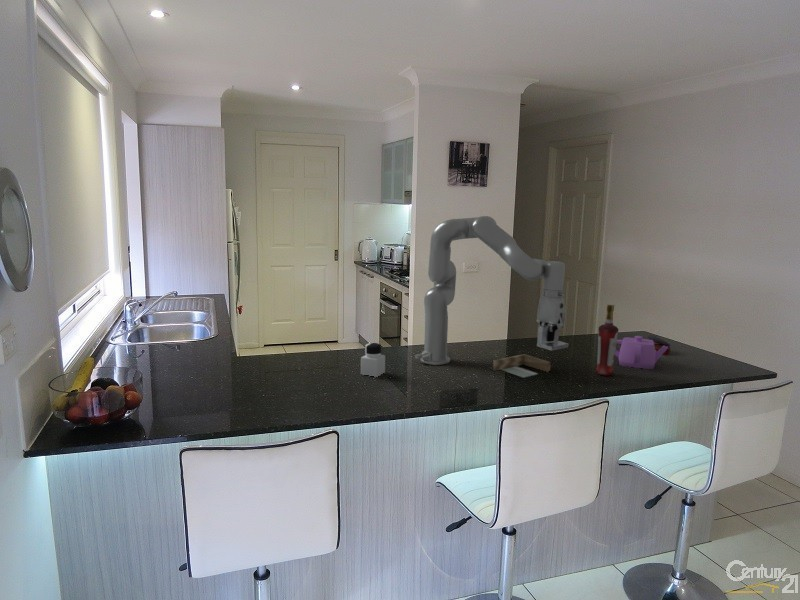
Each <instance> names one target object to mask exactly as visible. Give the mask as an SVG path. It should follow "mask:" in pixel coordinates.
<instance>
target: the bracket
mask: <svg viewBox="0 0 800 600" xmlns="http://www.w3.org/2000/svg"><path fill="white" fill-rule="evenodd" d="M557 325H558V323H557ZM553 327H554V325H553ZM548 331H550V323H549V325H542V326H541V325H538V329H537V342H536V347H539V348H542V349H545V350H549V351H558V350H562V349H566V348H567V349H568V348H569V343H568V342H564V341H561V340H559V337H560V335H559V334H560V328H558V329H557V330H556V331H555V336H554V341H550V342H548V341H547V340H548Z"/></svg>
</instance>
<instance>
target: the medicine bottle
mask: <svg viewBox="0 0 800 600" xmlns="http://www.w3.org/2000/svg"><path fill="white" fill-rule="evenodd" d="M364 353H365V355H363V356H360V375H361V374H362V375H361V376H364V375H369V376H368V377H370V376H374V377H373V378H376V377H377V378H379V377H380V376H382V375H383V373H384V374H385V373H386V355H385V354H382V345H381V344H380V343H378V342H369V343H366V344H365V349H364ZM381 374H382V375H381ZM378 376H379V377H378Z"/></svg>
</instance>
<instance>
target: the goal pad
mask: <svg viewBox="0 0 800 600" xmlns="http://www.w3.org/2000/svg"><path fill="white" fill-rule="evenodd" d="M501 371H503V372H505V373H509V374H512V375H514V376H518V377H521V378H529V377H532V376H533V377H534V376H537V375H539V373H538V372H535V371H531V370H529V369H526V368H523V367H520V366H515V367H510V368H506V369H501Z"/></svg>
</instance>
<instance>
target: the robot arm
mask: <svg viewBox="0 0 800 600" xmlns="http://www.w3.org/2000/svg"><path fill="white" fill-rule="evenodd" d="M465 239H466V240H467V239H478V240H480V241H481V242H482V243H484V244H485V245H486V246H487V247H489V248H490V249H491V250H492V251H493V252H495V253H496V254H498V255H499V257H500V259H502V260H503V261H504V262H505V263H506V264H507V265H508V266H509V267H510V268H511V269H512V270H514V271H515V272H516V273H517V274H519V275H520V276H521V277H523V279H526V280H528V281H532V282H533V281H536V280H538V279H542V278H543V280H542V281H543V282H542V293H541V295H540V298H539V301H538V306H537V313H536V320H535V321H536V323H538V324H539V326H542V325H549V324H550V331H548V340H547V341H548V342H550V341H554V336H555V331H556V330H557V329H558V328H559V329H561V328H564V322H565V317H566V315H565V314H566V311H565V310H566V306H565V303H566V302H565V299H564V297H565V296H566V295H565V293H564V282H565V273H566V264H565V262H562V261H559V260H558V261H557V260H549V261H548V260H544V259H539V258H532V257H531V256H529V255H528V254H527V253H526V252H524V250H522V249H521V247H520V246H519V245H518V244H517V241H516V240H515V239H514V237H513V236H512V235H510V234H509V233H508V232H506V231H505V230H504V229H503V228H502V227H501V226H499V225H497V221H496V220H495V219H494V218H493V217H492V216H488V215H484V216H483V215H482V216H477V217H476V216H475V217H465V218H464V217H463V218H450V219H447V220H445V221H442V222H441V223H439V224H438V225H437V226H435V228H434V229H433V230H432V233H431V236H430V245H429V261H428V274H427V276H428V278H429V280H430V282H432V283H433V287H431V288H429V289H428V290H427V292H426V293H425V295H424V299H423V300H424V301H423V305H424V342H423V343H424V345H423V347H424V349H423V350H422V351H421V353H417V354H415V355H414V359H415V360H420V362H421V363H423V364H426V365H430V366H431V365H432V366H433V365H434V366H440V365H441V366H442V365H448V364H449V363H451V358H450V357H449V356H448V355H447V353H448V352H447V351H448V333H449V329H448V328H449V326H448V325H449V324H448V323H449V313H448V306H450V304H452V303H453V301H454V300H455V295H456V283H457V282H456V280H457V268H456V265H455V263H454V262H453V261H452V260H451V252H452V250H451V249H452V248H451V243H452V242H453V241H458V240H465ZM557 324H558V325H557ZM553 325H554V327H553Z"/></svg>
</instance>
